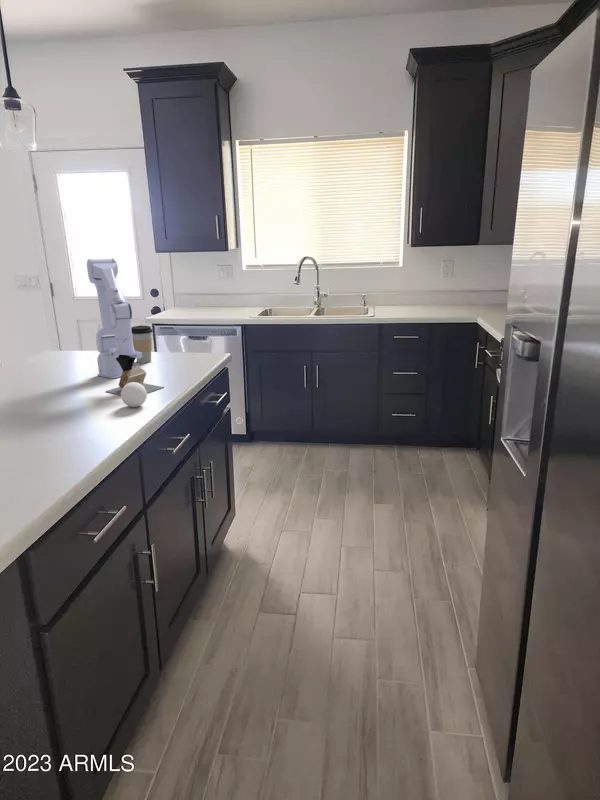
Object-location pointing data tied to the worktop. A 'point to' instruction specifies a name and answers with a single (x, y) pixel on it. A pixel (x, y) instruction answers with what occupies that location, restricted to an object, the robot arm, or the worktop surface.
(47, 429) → the worktop surface
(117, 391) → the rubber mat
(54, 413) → the worktop surface
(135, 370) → the brown wooden block
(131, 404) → the ball
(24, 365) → the worktop surface
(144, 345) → the coffee cup
